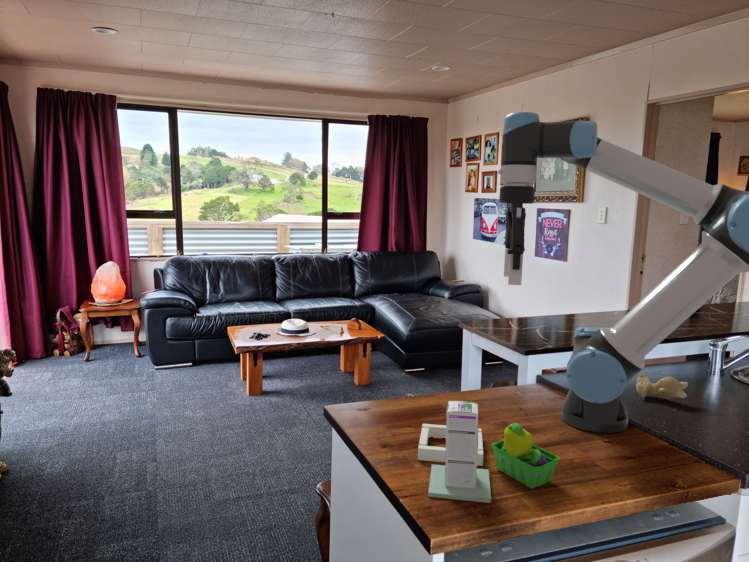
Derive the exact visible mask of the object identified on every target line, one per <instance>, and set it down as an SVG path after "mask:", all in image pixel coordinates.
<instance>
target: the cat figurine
mask: <svg viewBox="0 0 749 562" xmlns="http://www.w3.org/2000/svg"><path fill="white" fill-rule="evenodd" d="M688 386H689V382H687V381H679V380H678V379H676V378H675V377H672V376H666V377H662V378H661V379H659V380H657V382H652V381H651V380H650V379H649V377H647V376H646V375H644V374H639V375H638V376H637V379H636V383H635V387H636V392H637V394H638V395H639V396H640V397H641V398H642V397H647V396H646V395H649V396H651V395H654V396H655V397H656V396H657V397H660V398H666V399H668V400H671V399H675V398H677V399H685V398H687V396H688V395H687V394H686V393H685V391H683V390H685V389H687V387H688ZM657 397H656V398H657Z"/></svg>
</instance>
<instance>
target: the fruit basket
mask: <svg viewBox="0 0 749 562" xmlns="http://www.w3.org/2000/svg"><path fill="white" fill-rule="evenodd" d="M503 434H504V438H503V439H502V440H499V441H495V442H493V443H491V448H492V450H493V454H494V459H495V463H496V468H497V469H498V470H499V471H501V472H502V473H504V474H505V475H506V476H507V475H508V477H511V478H513V479H515V480H516V481H518V482H519V483H521V484H524V485H525V486H527V487H528V488H530V489H534V488H536V487H540V486H543V485H545V484H546V483H547V484H548V483H550V482H551V480H552V477H553V474H554V472H555V470H556V466H557V465H558V463H559V461H560V460H561V459H560V456H558V455H556V454H554V453H551V452H550V451H548V450H545V449H543V448H542V447H539V446H538V445H535V444H533V443H534V437H533V436H532V434H531V433H530V432H528V431H527V430H526V429H524V428H523V426H522V425H521V424H520V423H517V422H515V423H511V424H509V425H508V426H507V427H505V428H504V433H503Z"/></svg>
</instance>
